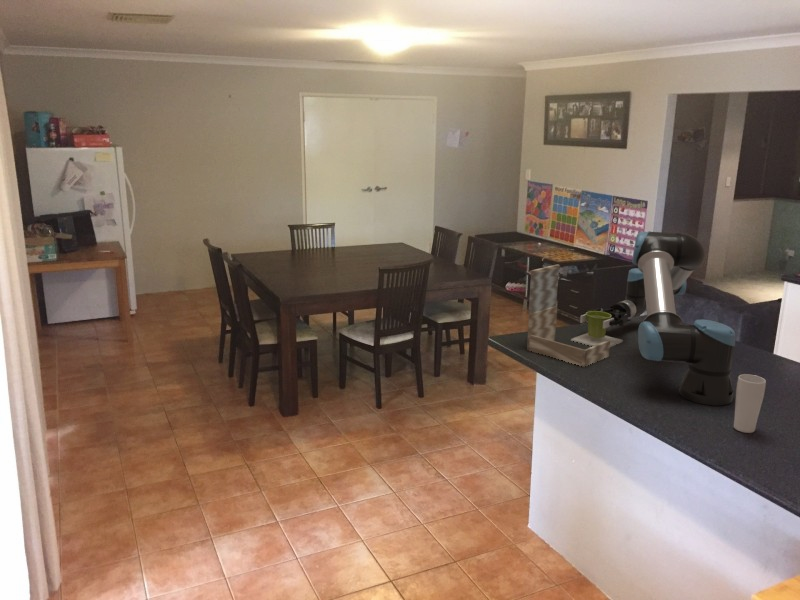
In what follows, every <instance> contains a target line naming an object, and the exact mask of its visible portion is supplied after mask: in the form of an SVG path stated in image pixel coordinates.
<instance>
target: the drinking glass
mask: <svg viewBox="0 0 800 600" xmlns="http://www.w3.org/2000/svg"><path fill="white" fill-rule="evenodd" d="M766 384H767V381H766V379H765V378H763V377H761V376H759V375H754V374H749V373H747V374H746V373H742V374H740V375H738V377H737V382H736V386H735V387H736V388H735V401H734V402H735V404H734V421H733V428H734V429H735V430H736V431H739V432H741V433H744V434H745V433H746V434H752V433H754V432H755V431H756V427H757V424H758V423H757V422H758V419H759V416H760V412H761V408H762V404H763V400H764V397H765V392H766V386H767V385H766Z"/></svg>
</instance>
